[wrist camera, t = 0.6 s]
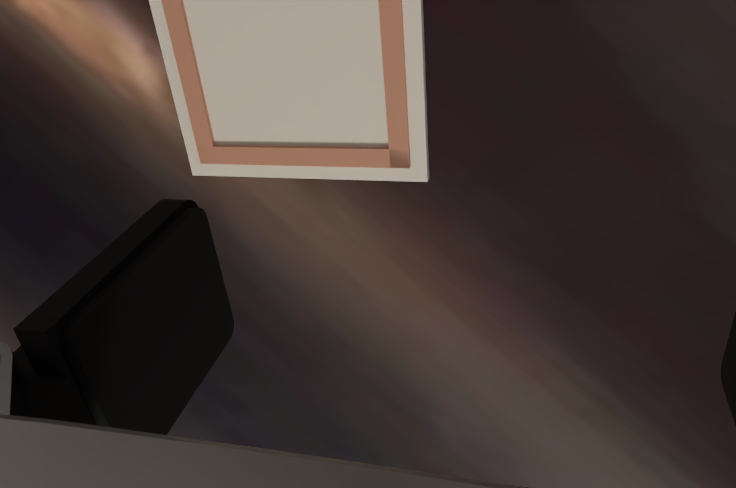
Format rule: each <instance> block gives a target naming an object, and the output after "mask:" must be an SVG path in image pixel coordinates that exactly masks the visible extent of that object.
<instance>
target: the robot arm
mask: <svg viewBox="0 0 736 488" xmlns="http://www.w3.org/2000/svg"><path fill="white" fill-rule="evenodd" d="M233 329H234V320H233V315H232V311H231V308H230V304H229V300H228V296H227V292H226V288H225V284H224V281H223V277H222V273H221V269H220V265H219V261H218V258H217V254H216V250H215V246H214V242H213V238H212V234H211V231H210V227H209V223H208V219H207V216H206V213H205V211H204V210H203V209H202V208H198V206H197V204H196V203H195V202H194V201H192V200H174V199H163V200H161V201H159V202H158V203H157V204H156V205H154V206H153V207H152V208H151V209H150V210H149V211H148V212H146V213H145V214H144V215H143V216H142V217H141V218H140V219H138V220H137V221H136V222H135V223H134V224H133V225H132V226H130V227H129V228H128V229H127V230H126V231H125V232H124V233H122V234H121V235H120V236H119V237H118V238H117V239H116V240H114V241H113V242H112V243H111V244H110V245H109V246H108V247H106V248H105V249H104V250H103V251H102V252H101V253H100V254H98V255H97V256H96V257H95V258H94V259H93V260H92V261H90V262H89V263H88V264H87V265H86V266H85V267H84V268H82V269H81V270H80V271H79V272H78V273H77V274H76V275H74V276H73V277H72V278H71V279H70V280H69V281H68V282H66V283H65V284H64V285H63V286H62V287H61V288H60V289H58V290H57V291H56V292H55V293H54V294H53V295H52V296H50V297H49V298H48V299H47V300H46V301H45V302H44V303H42V304H41V305H40V306H39V307H38V308H37V309H36V310H34V311H33V312H32V313H31V314H30V315H29V316H28V317H26V318H25V319H24V320H23V321H22V322H21V323H20V324H18V325H17V326H16V327H15V328H14V329H13V330H14V332H15V334H16V336H17V338H18V340H19V342H20V344H21V346H20V347H19V348H18V349H17V350H16V351H15V352H12V350H11V348H10V347H9V346H7V345H6V344H5V343H1V342H0V488H528V487H521V486H515V485H508V484H501V483H495V482H488V481H481V480H475V479H468V478H461V477H455V476H448V475H441V474H434V473H428V472H421V471H414V470H407V469H400V468H393V467H387V466H380V465H373V464H366V463H359V462H352V461H345V460H339V459H332V458H325V457H318V456H311V455H304V454H297V453H290V452H283V451H276V450H269V449H262V448H255V447H248V446H241V445H234V444H227V443H220V442H212V441H205V440H198V439H191V438H184V437H176V436H169V435H167V433H168V432H169V430H170V429H171V427H172V426H173V424H174V423H175V421H176V420H177V418H178V417H179V415H180V414H181V412H182V411H183V409H184V408H185V406H186V405H187V403H188V402H189V400H190V399H191V397H192V396H193V394H194V393H195V391H196V390H197V388H198V387H199V385H200V384H201V382H202V381H203V379H204V378H205V376H206V375H207V373H208V372H209V370H210V369H211V367H212V366H213V364H214V363H215V361H216V360H217V358H218V357H219V355H220V354H221V352H222V351H223V349H224V348H225V346H226V344H227V343H228V341H229V340H230V338H231V336H232V333H233ZM721 380H722V385H723V389H724V392H725V395H726V398H727V401H728V404H729V407H730V409H731V412H732V415H733V418H734V421H735V424H736V313H735V316H734V320H733V324H732V327H731V331H730V335H729V338H728V342H727V345H726V349H725V353H724V356H723V360H722V365H721Z"/></svg>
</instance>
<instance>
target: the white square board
mask: <svg viewBox="0 0 736 488" xmlns="http://www.w3.org/2000/svg"><path fill="white" fill-rule="evenodd" d="M149 3H150V7H151V11H152V15H153V19H154V23H155V27H156V31H157V35H158V39H159V43H160V47H161V51H162V55H163V59H164V63H165V67H166V71H167V75H168V79H169V83H170V87H171V91H172V95H173V99H174V103H175V106H176V110H177V114H178V118H179V122H180V126H181V130H182V134H183V138H184V142H185V146H186V150H187V154H188V158H189V162H190V166H191V170H192V174H193V175H197V176H233V177H269V178H305V179H341V180H376V181H412V182H428V179H429V160H428V132H427V104H426V76H425V49H424V21H423V0H149Z"/></svg>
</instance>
